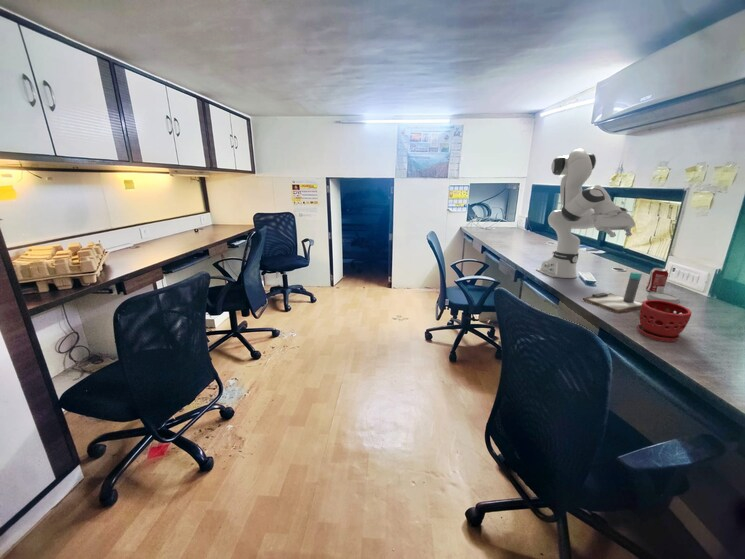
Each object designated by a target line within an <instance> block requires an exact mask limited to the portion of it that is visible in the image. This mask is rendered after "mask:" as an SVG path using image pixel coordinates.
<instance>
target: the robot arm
mask: <svg viewBox="0 0 745 559" xmlns="http://www.w3.org/2000/svg"><path fill="white" fill-rule="evenodd" d="M596 163H597V159H596V155H595V154H594V153H592V152H591V153H590V152H587V151H586V150H585V149H582V148H577V149H574V150H573V151H571V152H570V153H569V154H567V155H563V156H562V155H561V156H557V157H555V158H554V159H553V161H552V163H551V168H550V169H551V172H552V174H553V175H555V176H560V175H562V178H561V181H560V187H559V188H560V189H559V190H560V191H559V192H560V204H561V205H562V207H561V209H555V210H552V211H551V212H550V214H549V215H548V217H547V223H548V225H549V226H550V227H551V228H552V229H553V230H554V231H555V233H556V236H557V246H556V250H555V251H552V252H551V254H553V255H552V256H551V257H549V258H547V259H545V260H543V261H542V263H541V265H540V267H537V268H536V271H537V272H539V273H541V274H543V275H547V276H549V277H552V278H554V277H555V278H561V279H562V278H563V279H575V278H577V277H578V276H577V263H578V259H579V254H580V253H579V249H580V245H581V239H580V238H579V237H578V236H577V235H575V234H573V233H572V230H588V229H593V228H595V230H596V231H598V232H602V231H604V232H605V233H606V234H607V235H609V237H610V238H615V237H616V236H617V234H616V232H613V231H624V232H625V236H626V237H628V238H629V237H631V236H633V233H632V231H631V230H632V229H633V228H634V227H635V226H636V222H635V220H634V219H633V217H632V216H631V215H630V213H628V212H629V211H628V209H627V208H625V207H621V206H620V205H616V203H615V202H614V201H612V199H611V198H612V197H611V196H610V195H609V193H608V192H607V191H606V189H605V188H604V187H603V186H601V185H599V184H593V185H590V186H589V187H587V188H584V189H583V185H584V184H585V183H586V182H587V180H588V179H589V178H590V177H591V175H592V172H593V170H594V169H595V166H596Z"/></svg>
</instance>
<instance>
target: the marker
mask: <svg viewBox="0 0 745 559" xmlns="http://www.w3.org/2000/svg"><path fill="white" fill-rule="evenodd" d="M642 276H643V274H642V273H641V272H635V271H632V272H631V271H630V274H629V277H628V278H629V279H628V281H627V284H626V285H627V286H626V288H625V291H624V292H625V293H624V296H623V297H624V299H623V301H625V302H629V303H634V301H635V298H636V295H637V292H638V288H639V286H640V285H639V284H640V282H641V279H642Z"/></svg>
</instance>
